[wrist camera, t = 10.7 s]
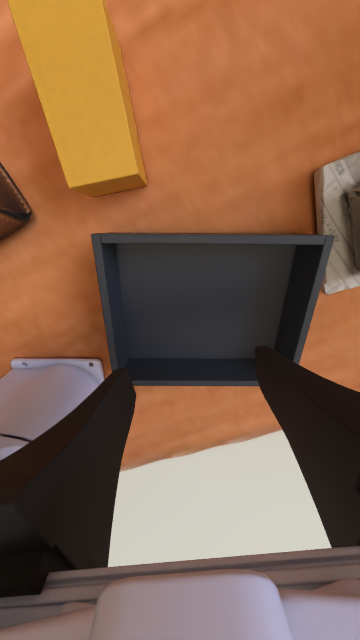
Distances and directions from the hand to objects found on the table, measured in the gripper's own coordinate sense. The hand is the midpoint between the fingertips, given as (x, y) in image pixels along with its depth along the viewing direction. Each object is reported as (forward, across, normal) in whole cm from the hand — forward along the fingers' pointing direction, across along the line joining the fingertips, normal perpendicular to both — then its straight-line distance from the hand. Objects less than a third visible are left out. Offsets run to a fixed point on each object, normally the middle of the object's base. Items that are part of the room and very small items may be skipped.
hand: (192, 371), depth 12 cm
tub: (+9, -2, 0) cm, 10 cm away
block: (+9, +3, -14) cm, 18 cm away
